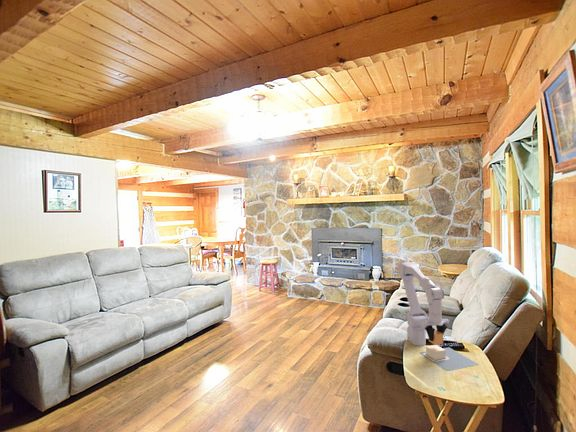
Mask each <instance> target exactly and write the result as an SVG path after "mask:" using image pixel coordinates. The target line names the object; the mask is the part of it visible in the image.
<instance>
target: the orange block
mask: <svg viewBox="0 0 576 432" xmlns="http://www.w3.org/2000/svg"><path fill="white" fill-rule="evenodd" d="M428 342H430V343H431V345H438V346H440V345H442V344H444V334H443V333H441V332H439V331H437V329H435V331H434V340H433V341H430V340H429V339H428Z"/></svg>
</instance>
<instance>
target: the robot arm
mask: <svg viewBox="0 0 576 432" xmlns="http://www.w3.org/2000/svg"><path fill="white" fill-rule="evenodd" d="M397 270H398V275H399V277H400V279H402V283H403V287H404V291H405V294H406V298H407V303H408V305H409V311H408V312H407V313H406V319H407V320H406V321H407V322H406V323H407V325H408V327H407V329H406V337H407V338H406V340H408V341H409V342H410V343H411V344H413V345H414V346H420V347H422V346H423V347H424V346H426V344H427V343H426V341H427V340H426V339H427V338H426V337H428V341H429V340H430V341H433V340H434V331H435V330H437V331H439V332H441V333H443V335H445V331H446V330H447V328H448V325H449V324H450V320H449V319H448V318H443V315H442V313H443V311H442V310H443V309H442V307H443V306H442V303H443V301H442V300H443V299H444V298H445V292H444V290H443V288H442V287H441V286H437V285H435V283H434V282H433V281H432V279H430V277H426V276H425V275H424V274H423V272H422V271H421V270H420V264H419V263H418V262H417V261H409V262H407V261H406V262H399V263H398V267H397ZM415 278H416V279H417V280H418V282H419V283H418V284H419V286H420V287H421V288H422V289H423V291H424V292H425V296H426V301H427V303H428V315H427V313H426V311H425V310H423V309H422V308H421V306H420V303H419V300H418V296H417V292H416V289H415V285H414V281H413V279H415ZM435 326H436V327H435ZM434 327H435V328H434ZM426 334H427V336H426Z"/></svg>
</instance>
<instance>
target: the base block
mask: <svg viewBox="0 0 576 432" xmlns="http://www.w3.org/2000/svg"><path fill="white" fill-rule="evenodd" d="M425 346H426V347H425V352H426V355H428V356H430V357H431V358H433V359H434V360H439V359H444V358H446V355H445V349H443V348H444V347H443V348H442V347H441V346H440V345H434V344H431V345H425Z"/></svg>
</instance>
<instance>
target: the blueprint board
mask: <svg viewBox="0 0 576 432" xmlns="http://www.w3.org/2000/svg"><path fill="white" fill-rule="evenodd" d="M443 349H445V355H446V358H444V359H439V360H434V359H433V358H431V357H430V356H428V355H426V351H421V352H420V351H419V354H420V355H421V356H423V357H425V358H426V359H428V360H429V361H431V362H432V363H434V364H435V365H437V366H438V367H439V368H440V369H442V370H444V371H446V372H451V371H455V370H460V369H465V368H470V367H475V366H479V365H480V364H479V363H477V362H476V361H474V360H473V359H470V358H469V357H468V356H467V357H466V356H465V355H464V354H462V353H459V352H458V351H456V350H454V349H453V348H451V347H449V346H448V347H443Z"/></svg>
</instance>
